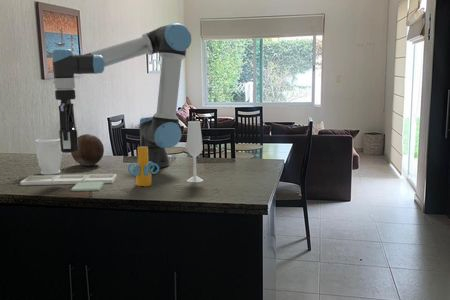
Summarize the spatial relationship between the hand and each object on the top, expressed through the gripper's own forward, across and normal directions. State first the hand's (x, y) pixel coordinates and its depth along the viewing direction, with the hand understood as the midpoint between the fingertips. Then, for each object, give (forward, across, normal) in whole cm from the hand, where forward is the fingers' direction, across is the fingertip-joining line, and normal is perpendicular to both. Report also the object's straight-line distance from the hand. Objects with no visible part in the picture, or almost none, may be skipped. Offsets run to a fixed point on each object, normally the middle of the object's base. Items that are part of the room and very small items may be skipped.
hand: (69, 147), depth 185 cm
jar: (+14, -17, -13) cm, 25 cm away
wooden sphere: (+15, -33, 0) cm, 36 cm away
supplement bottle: (+2, 0, 0) cm, 2 cm away
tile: (+14, +12, +9) cm, 21 cm away
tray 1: (+14, 0, -13) cm, 19 cm away
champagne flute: (+15, +4, +50) cm, 52 cm away
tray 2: (+14, 0, +11) cm, 18 cm away
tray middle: (+14, 0, -1) cm, 14 cm away
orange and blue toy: (+15, +10, +30) cm, 35 cm away
